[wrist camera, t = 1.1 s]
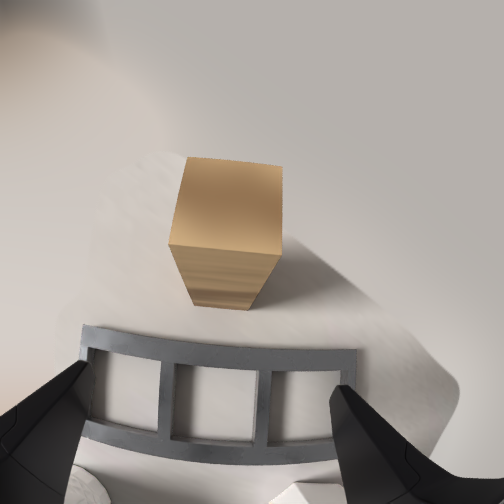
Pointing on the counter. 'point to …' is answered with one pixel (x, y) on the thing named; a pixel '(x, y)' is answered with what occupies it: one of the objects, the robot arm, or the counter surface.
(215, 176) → the oak block
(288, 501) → the jar
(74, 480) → the white cup
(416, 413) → the counter surface
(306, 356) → the rail plate
